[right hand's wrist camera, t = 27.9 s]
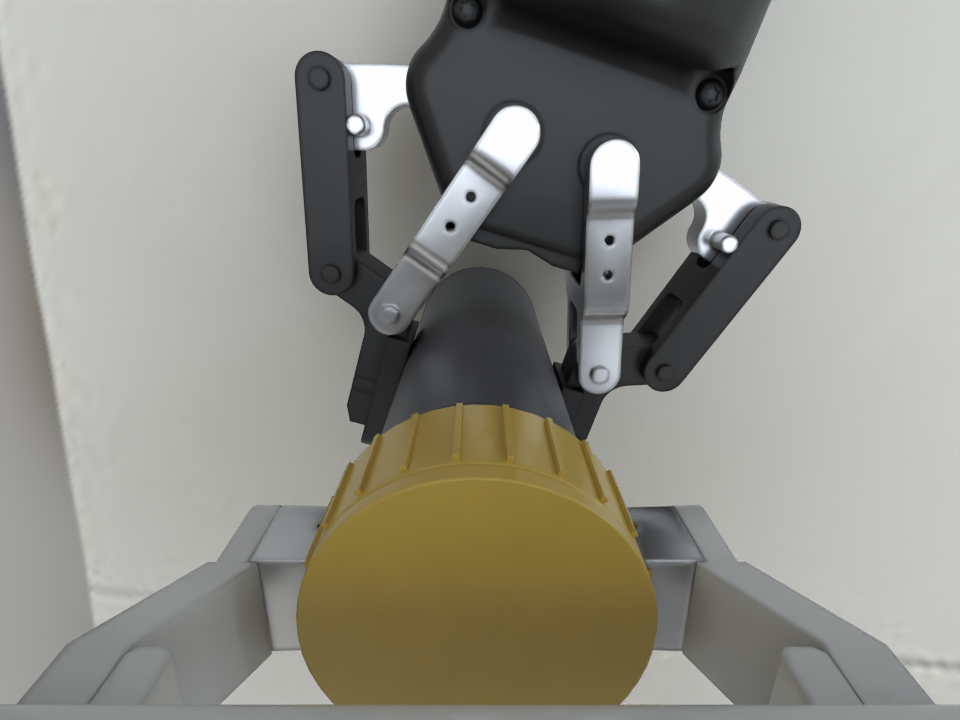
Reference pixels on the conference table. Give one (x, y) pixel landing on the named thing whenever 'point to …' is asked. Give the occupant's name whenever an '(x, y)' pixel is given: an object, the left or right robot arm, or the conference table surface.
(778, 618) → the right robot arm
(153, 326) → the conference table surface
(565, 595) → the lid
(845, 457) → the conference table surface
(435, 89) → the left robot arm
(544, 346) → the jar
